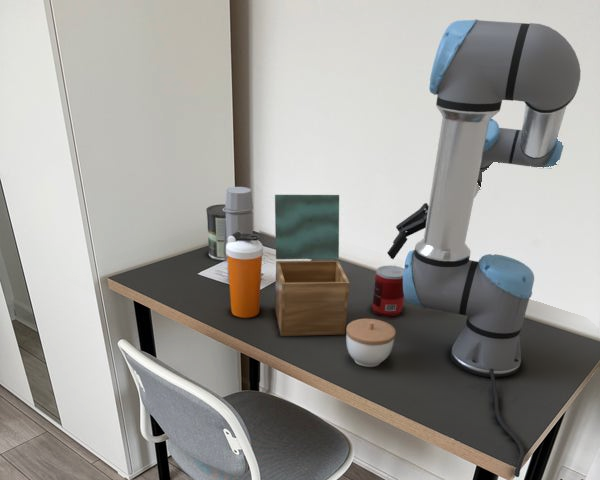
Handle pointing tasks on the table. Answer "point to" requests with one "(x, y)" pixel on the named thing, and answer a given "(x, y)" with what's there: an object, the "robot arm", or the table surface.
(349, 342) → the trinket box
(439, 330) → the table surface
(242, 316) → the shaker bottle
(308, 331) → the chest
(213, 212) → the coffee can
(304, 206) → the chest lid
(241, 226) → the water bottle
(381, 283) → the canned food
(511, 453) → the table surface
